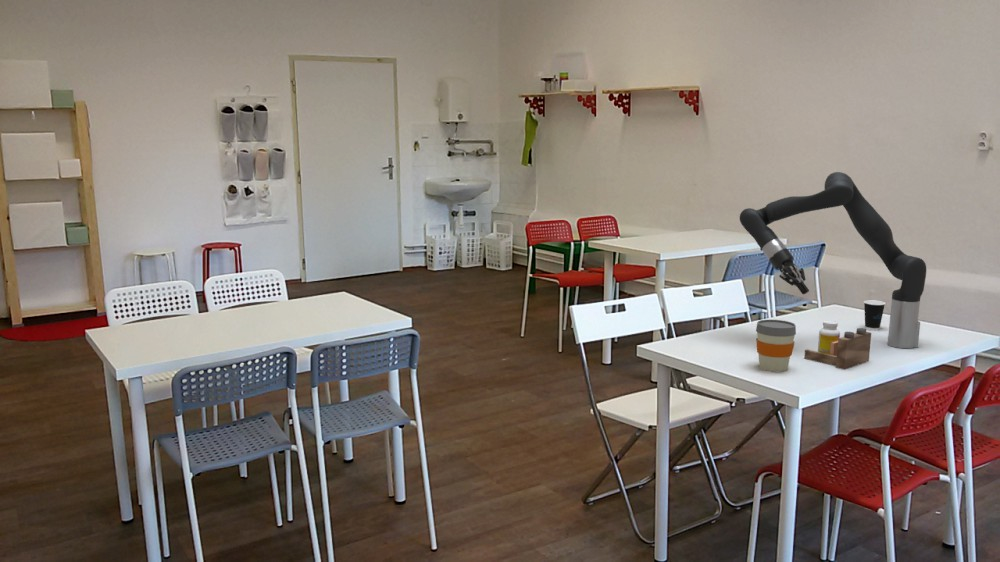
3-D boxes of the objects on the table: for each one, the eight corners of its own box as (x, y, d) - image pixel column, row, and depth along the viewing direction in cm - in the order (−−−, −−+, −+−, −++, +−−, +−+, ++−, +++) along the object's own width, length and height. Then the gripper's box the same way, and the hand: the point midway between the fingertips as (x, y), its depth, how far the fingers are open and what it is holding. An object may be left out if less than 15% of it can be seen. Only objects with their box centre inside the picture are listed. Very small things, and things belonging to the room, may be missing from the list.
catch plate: (829, 359, 275) (830, 342, 274) (843, 355, 281) (844, 338, 279) (832, 360, 274) (834, 343, 273) (846, 356, 280) (847, 339, 279)
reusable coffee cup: (759, 372, 263) (762, 328, 261) (749, 362, 276) (752, 319, 273) (798, 373, 263) (801, 328, 260) (786, 362, 275) (789, 319, 272)
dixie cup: (865, 325, 328) (867, 299, 326) (885, 329, 322) (888, 302, 320) (858, 329, 322) (860, 302, 320) (879, 332, 317) (881, 305, 315)
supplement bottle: (839, 361, 277) (842, 324, 274) (819, 360, 278) (821, 323, 276) (835, 356, 283) (838, 320, 281) (815, 355, 285) (818, 319, 282)
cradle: (801, 359, 279) (804, 326, 277) (826, 351, 289) (829, 319, 287) (844, 369, 267) (847, 335, 265) (868, 361, 277) (871, 328, 275)
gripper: (780, 258, 298) (808, 296, 291) (760, 262, 289) (788, 301, 282) (794, 246, 293) (823, 284, 286) (774, 249, 284) (803, 288, 277)
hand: (806, 292), depth 284 cm, fingers closed
